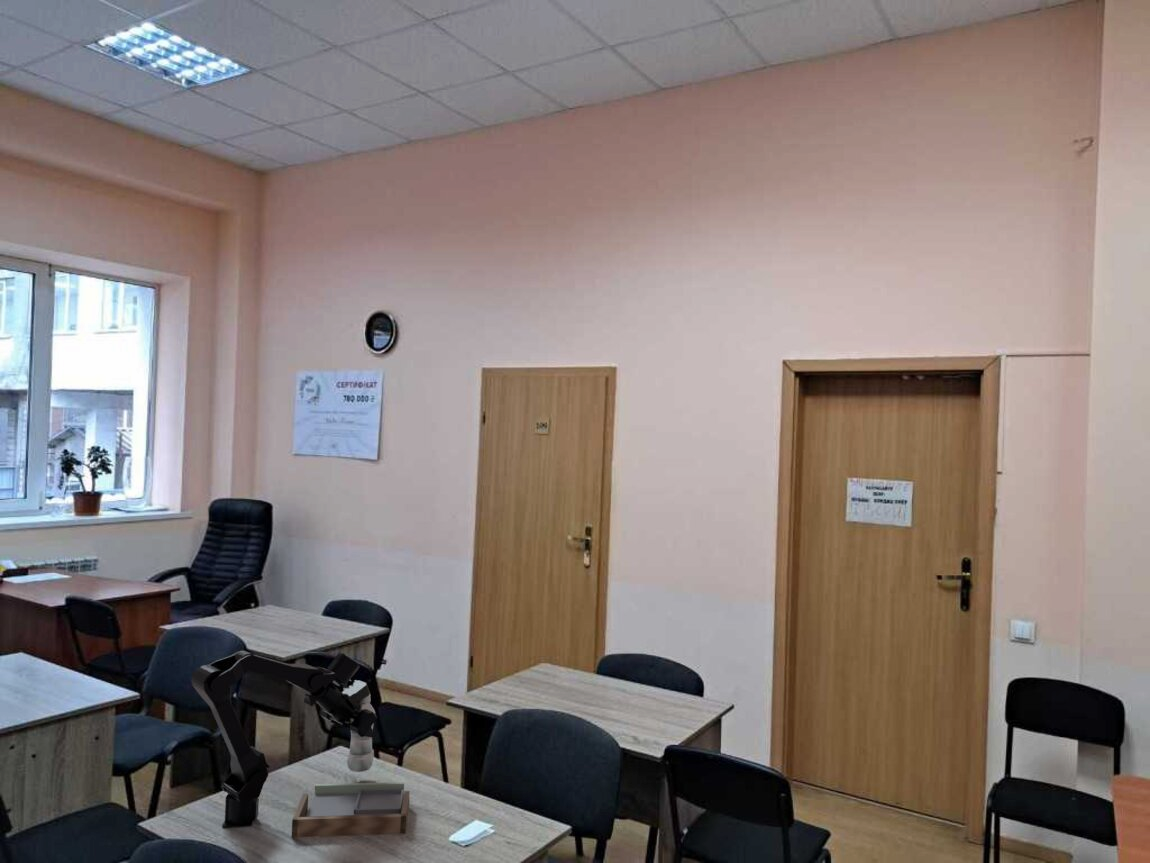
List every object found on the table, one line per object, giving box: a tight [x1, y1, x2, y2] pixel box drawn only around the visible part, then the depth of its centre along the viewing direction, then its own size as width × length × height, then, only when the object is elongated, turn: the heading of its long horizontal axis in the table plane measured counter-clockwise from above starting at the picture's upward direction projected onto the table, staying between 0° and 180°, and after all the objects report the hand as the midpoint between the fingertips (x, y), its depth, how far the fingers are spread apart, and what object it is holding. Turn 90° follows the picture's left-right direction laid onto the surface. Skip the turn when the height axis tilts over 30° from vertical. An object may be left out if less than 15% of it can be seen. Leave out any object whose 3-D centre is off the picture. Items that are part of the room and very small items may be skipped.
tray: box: [305, 781, 405, 817], centre depth 197 cm, size 22×13×3 cm, turn 98°
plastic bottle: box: [346, 694, 376, 773], centre depth 213 cm, size 6×7×20 cm
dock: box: [291, 790, 410, 838], centre depth 190 cm, size 25×13×4 cm, turn 98°
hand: (366, 732), depth 214 cm, fingers closed on plastic bottle, 6 cm apart
